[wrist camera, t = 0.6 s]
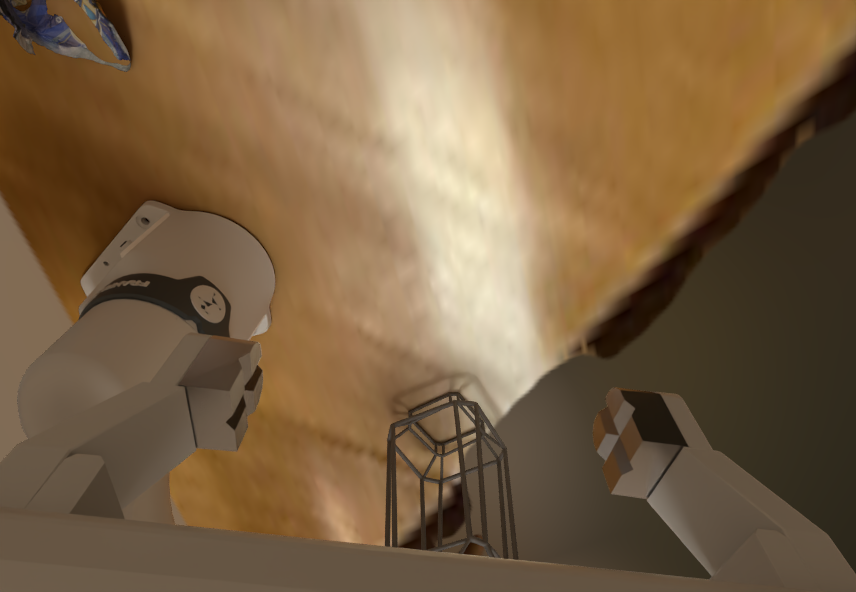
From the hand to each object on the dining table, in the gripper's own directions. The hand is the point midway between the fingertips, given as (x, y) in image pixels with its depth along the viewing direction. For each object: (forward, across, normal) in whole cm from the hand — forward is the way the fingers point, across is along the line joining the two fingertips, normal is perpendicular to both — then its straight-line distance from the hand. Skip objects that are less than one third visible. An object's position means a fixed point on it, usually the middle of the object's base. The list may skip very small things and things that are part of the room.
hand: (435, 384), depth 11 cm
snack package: (+38, -33, +2) cm, 50 cm away
